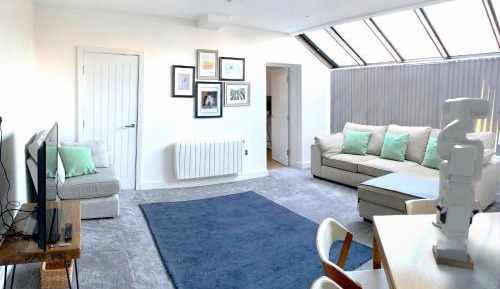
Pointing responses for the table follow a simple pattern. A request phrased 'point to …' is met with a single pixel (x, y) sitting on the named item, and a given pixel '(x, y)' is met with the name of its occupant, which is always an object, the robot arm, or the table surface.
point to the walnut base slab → (453, 261)
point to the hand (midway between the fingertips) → (455, 224)
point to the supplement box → (457, 222)
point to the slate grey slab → (452, 250)
